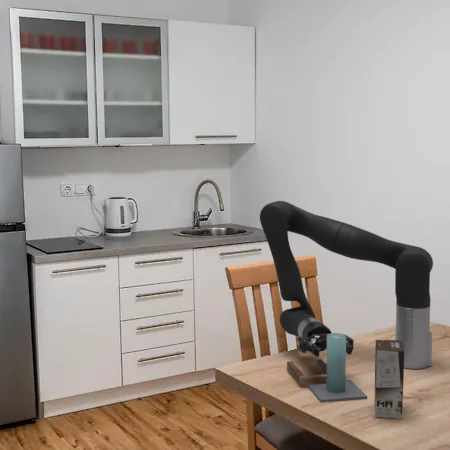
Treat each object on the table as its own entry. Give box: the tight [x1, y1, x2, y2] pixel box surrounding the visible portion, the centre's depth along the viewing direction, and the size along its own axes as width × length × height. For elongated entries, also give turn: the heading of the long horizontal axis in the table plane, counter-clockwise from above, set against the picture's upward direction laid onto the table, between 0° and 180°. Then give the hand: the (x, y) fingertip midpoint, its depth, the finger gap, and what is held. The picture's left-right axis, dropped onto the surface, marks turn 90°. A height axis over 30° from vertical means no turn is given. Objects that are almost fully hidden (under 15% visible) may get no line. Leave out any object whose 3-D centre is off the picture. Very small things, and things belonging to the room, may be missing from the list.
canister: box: [326, 332, 347, 393], centre depth 174 cm, size 5×5×14 cm
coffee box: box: [374, 339, 405, 420], centre depth 162 cm, size 9×6×16 cm
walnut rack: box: [286, 358, 327, 388], centre depth 185 cm, size 10×14×2 cm
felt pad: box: [307, 379, 368, 403], centre depth 175 cm, size 12×12×1 cm
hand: (334, 351), depth 176 cm, fingers open, 8 cm apart
